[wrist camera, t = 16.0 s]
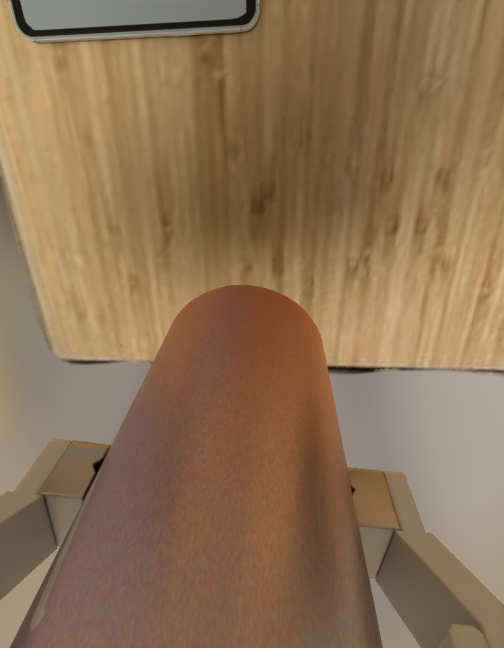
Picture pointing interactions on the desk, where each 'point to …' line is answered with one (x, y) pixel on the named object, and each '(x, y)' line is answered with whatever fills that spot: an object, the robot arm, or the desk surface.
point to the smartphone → (129, 18)
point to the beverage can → (218, 500)
